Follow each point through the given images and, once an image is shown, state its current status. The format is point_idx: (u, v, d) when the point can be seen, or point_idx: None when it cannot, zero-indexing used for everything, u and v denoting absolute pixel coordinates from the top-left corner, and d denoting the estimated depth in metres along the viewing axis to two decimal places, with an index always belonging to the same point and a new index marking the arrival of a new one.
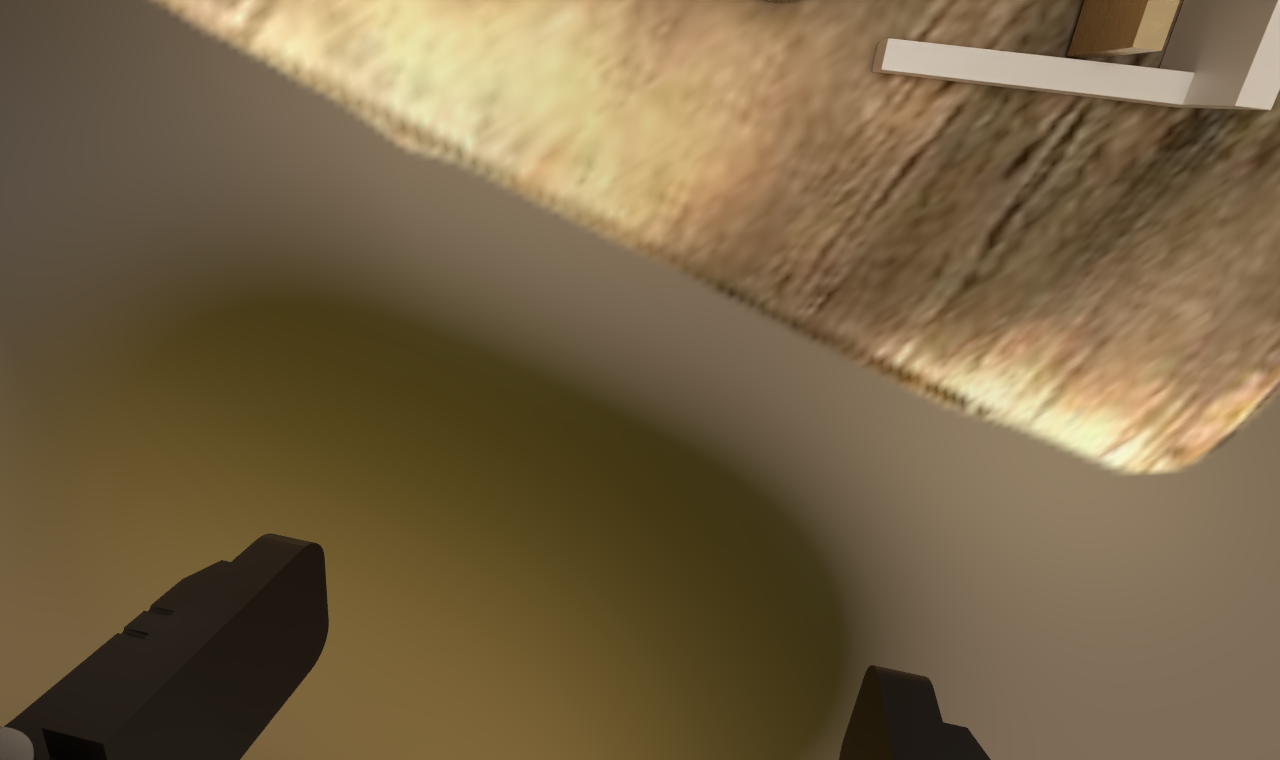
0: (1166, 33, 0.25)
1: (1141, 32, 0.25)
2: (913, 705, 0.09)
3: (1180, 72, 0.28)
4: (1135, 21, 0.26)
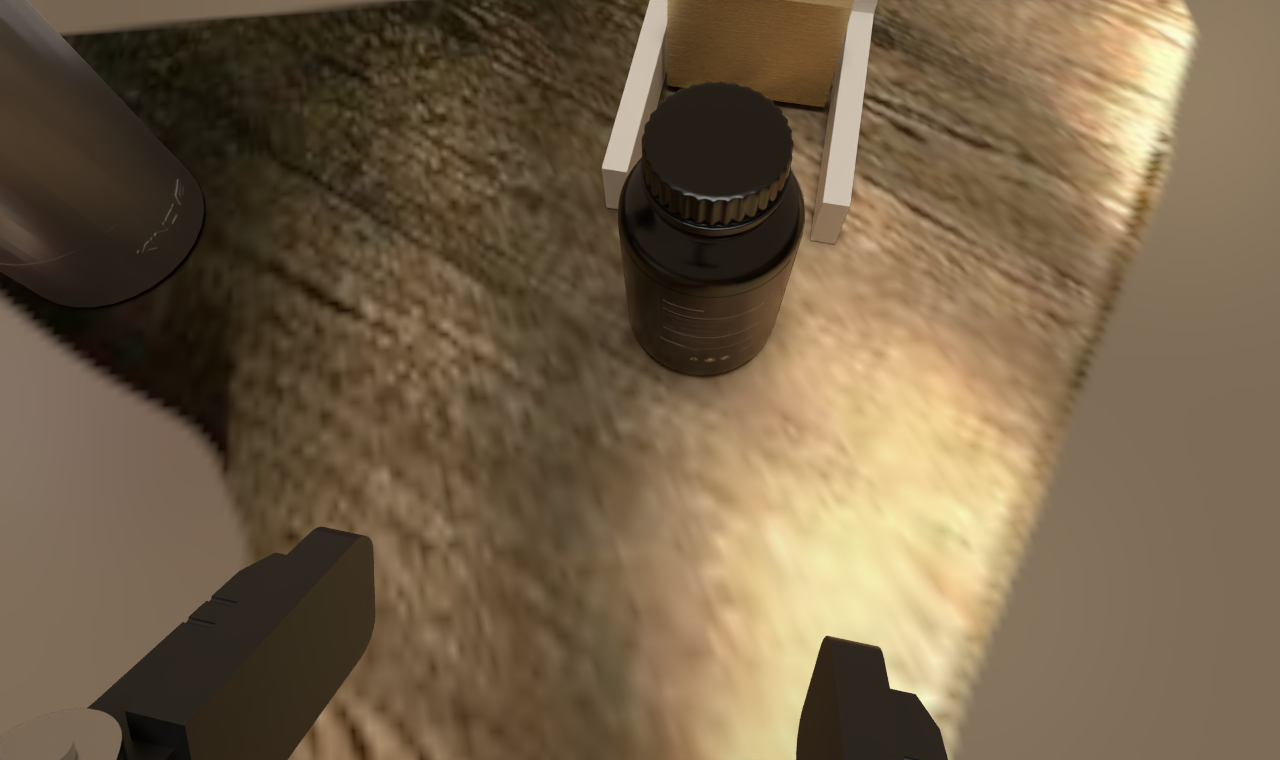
0: None
1: (841, 4, 0.32)
2: (862, 671, 0.09)
3: None
4: (830, 14, 0.32)
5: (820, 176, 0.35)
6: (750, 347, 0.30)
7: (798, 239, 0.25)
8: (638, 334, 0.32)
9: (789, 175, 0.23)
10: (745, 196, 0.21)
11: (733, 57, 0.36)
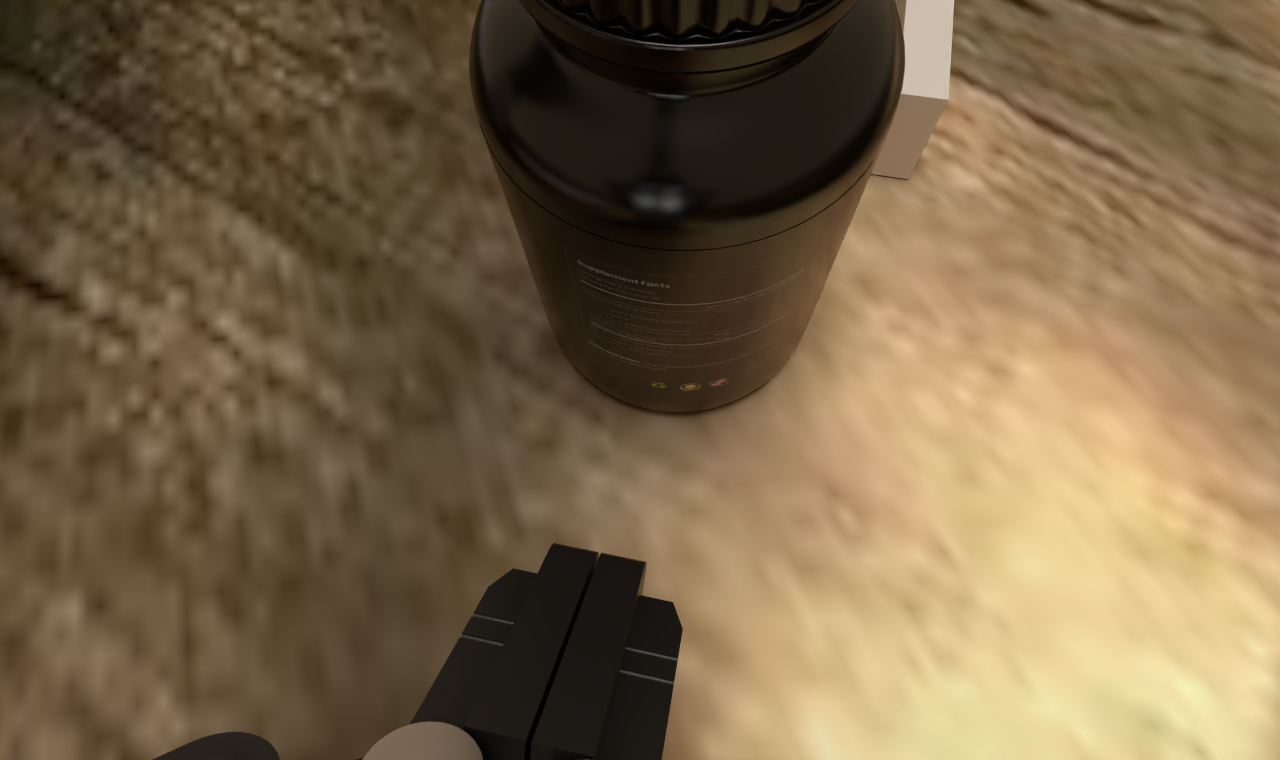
0: None
1: None
2: (618, 579, 0.10)
3: None
4: None
5: None
6: (768, 362, 0.16)
7: (893, 110, 0.10)
8: (558, 337, 0.17)
9: None
10: None
11: None
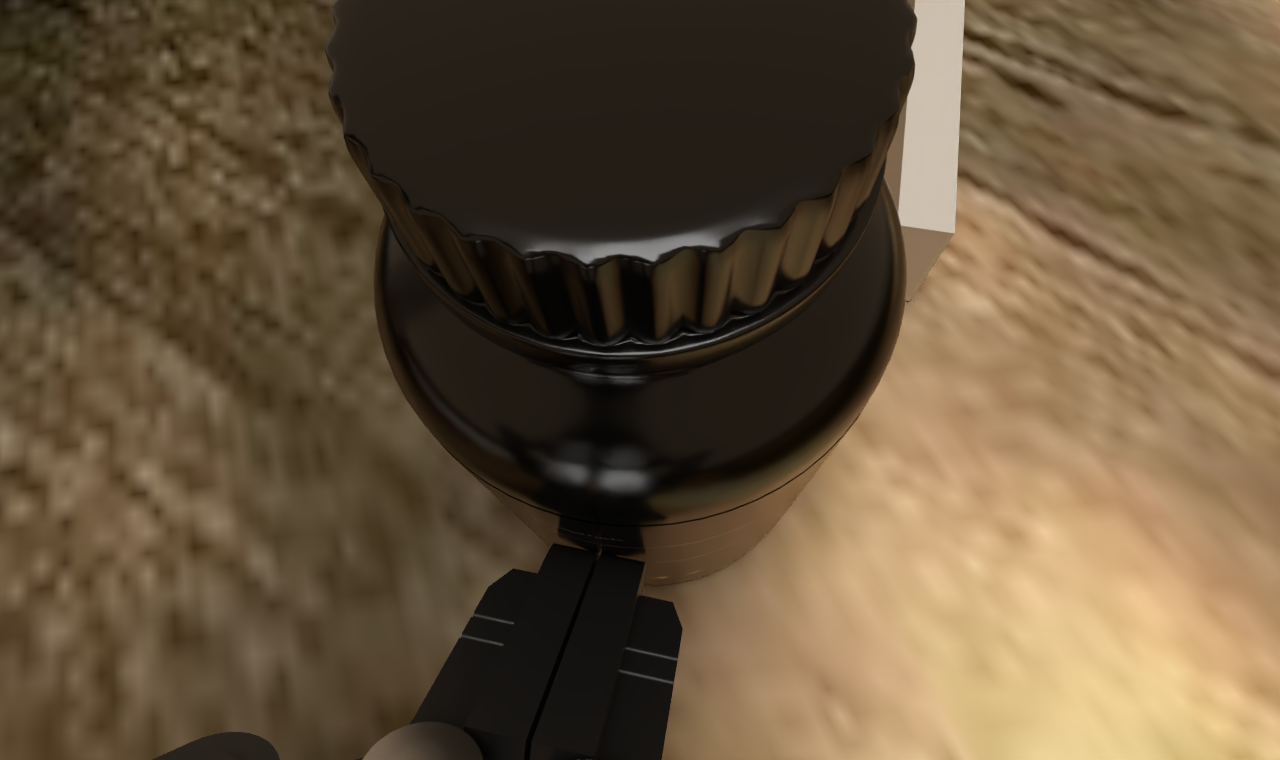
0: None
1: None
2: (618, 579, 0.10)
3: None
4: None
5: None
6: (751, 544, 0.14)
7: (892, 347, 0.08)
8: None
9: None
10: (727, 240, 0.05)
11: None
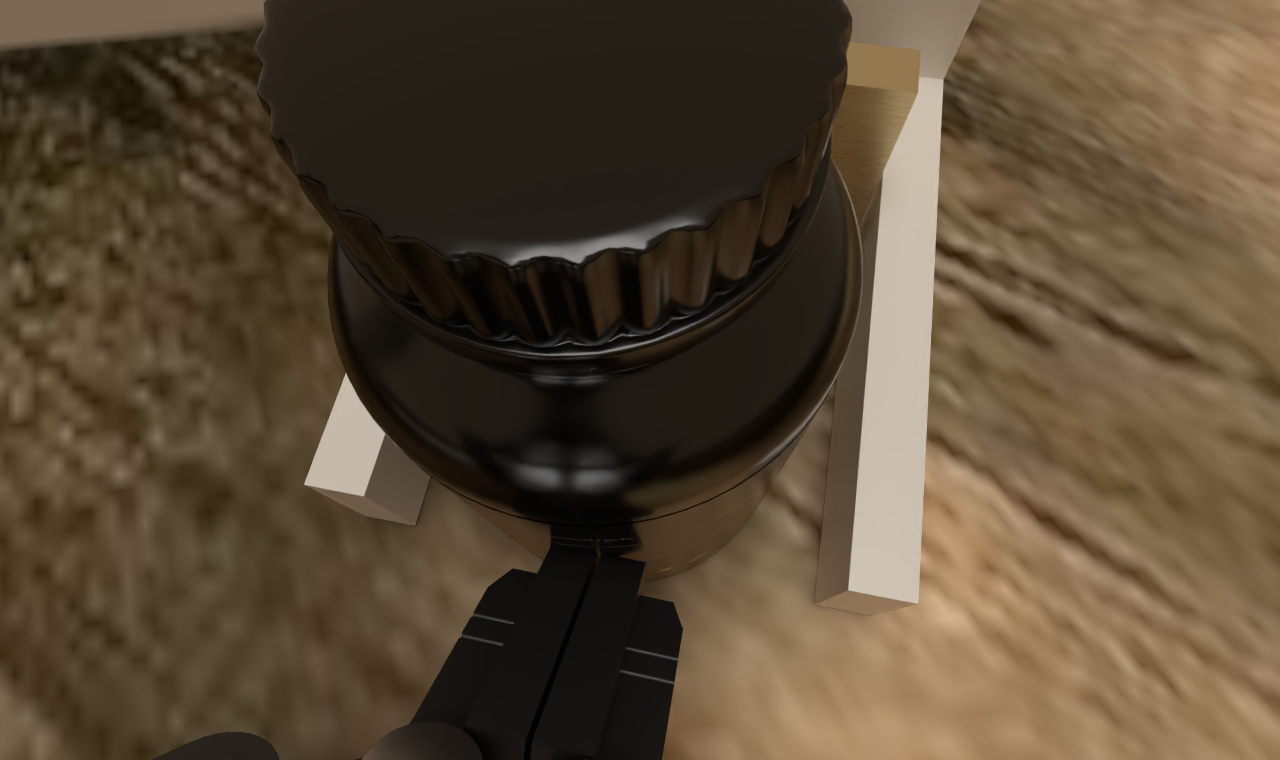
0: (889, 47, 0.13)
1: (888, 83, 0.12)
2: (618, 579, 0.10)
3: None
4: (859, 106, 0.13)
5: (834, 445, 0.16)
6: (746, 519, 0.14)
7: (860, 299, 0.09)
8: None
9: None
10: (711, 215, 0.05)
11: None
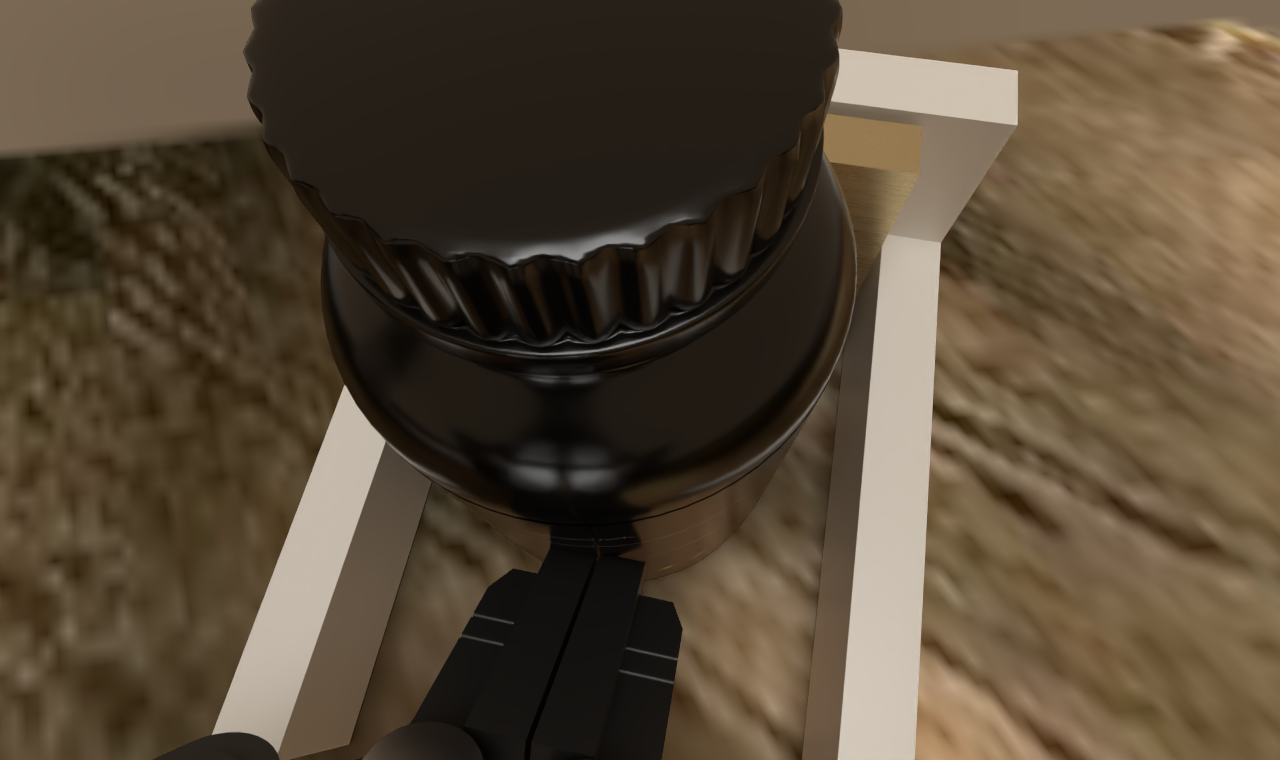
0: (888, 123, 0.12)
1: (888, 163, 0.12)
2: (618, 579, 0.10)
3: (883, 255, 0.15)
4: (857, 184, 0.12)
5: (817, 658, 0.14)
6: (746, 514, 0.14)
7: (854, 291, 0.09)
8: None
9: None
10: (709, 209, 0.05)
11: None
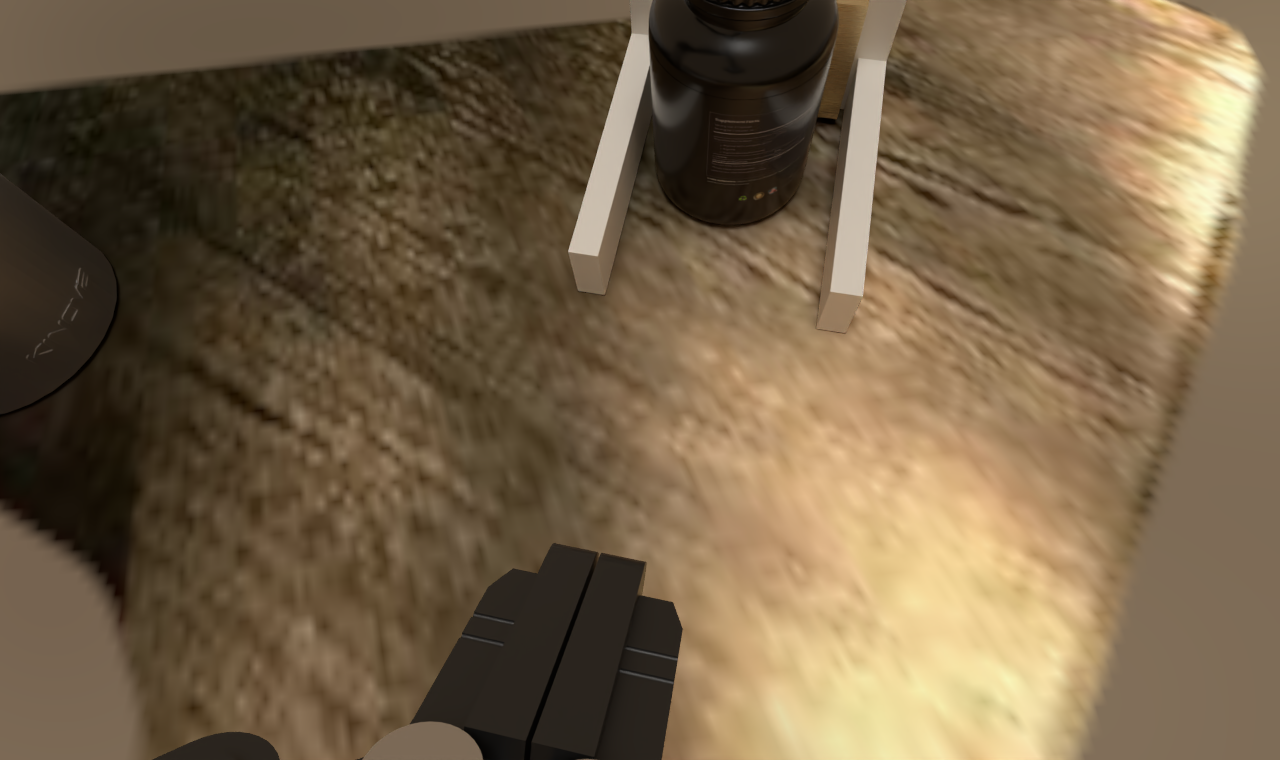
0: None
1: (855, 2, 0.28)
2: (618, 579, 0.10)
3: (858, 67, 0.31)
4: (843, 14, 0.28)
5: (827, 252, 0.30)
6: (794, 177, 0.30)
7: (838, 24, 0.25)
8: (677, 194, 0.31)
9: None
10: None
11: None
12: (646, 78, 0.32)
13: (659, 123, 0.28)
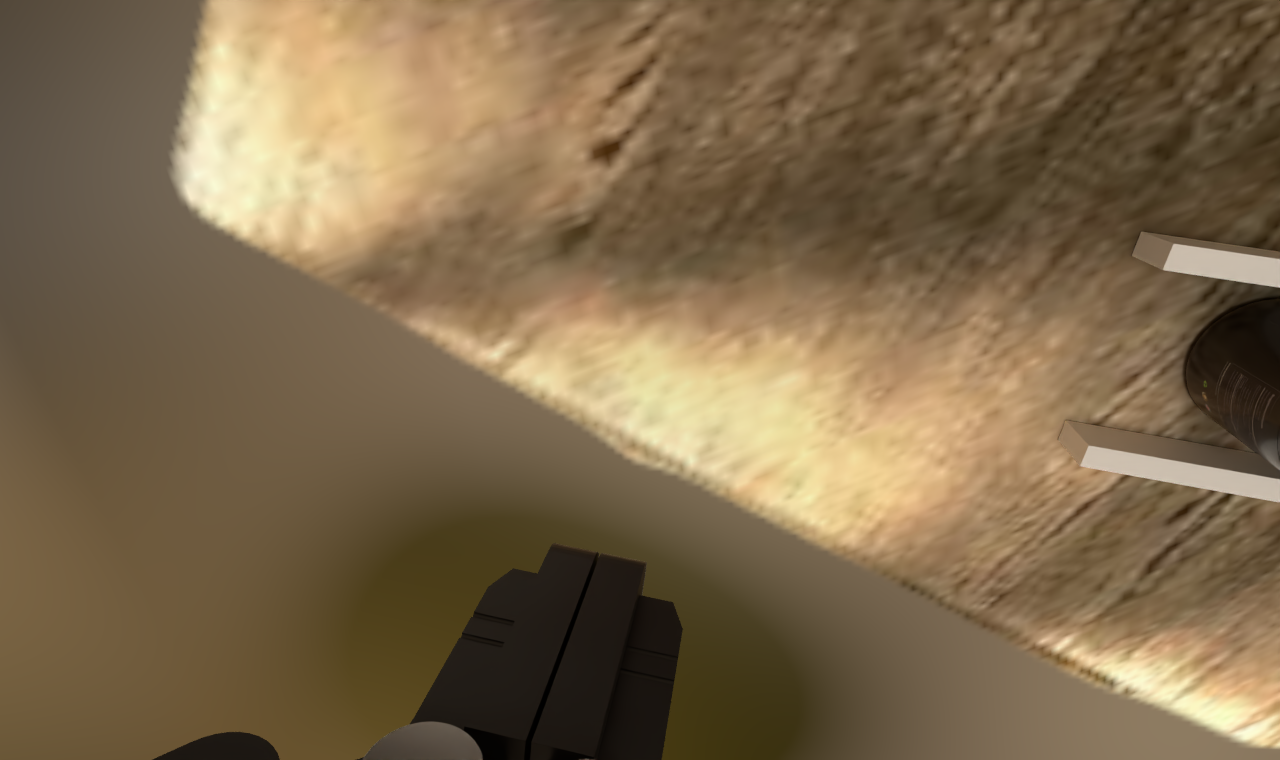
0: None
1: None
2: (618, 579, 0.10)
3: None
4: None
5: (1138, 436, 0.37)
6: (1220, 424, 0.35)
7: None
8: (1230, 324, 0.34)
9: None
10: None
11: None
12: None
13: None
